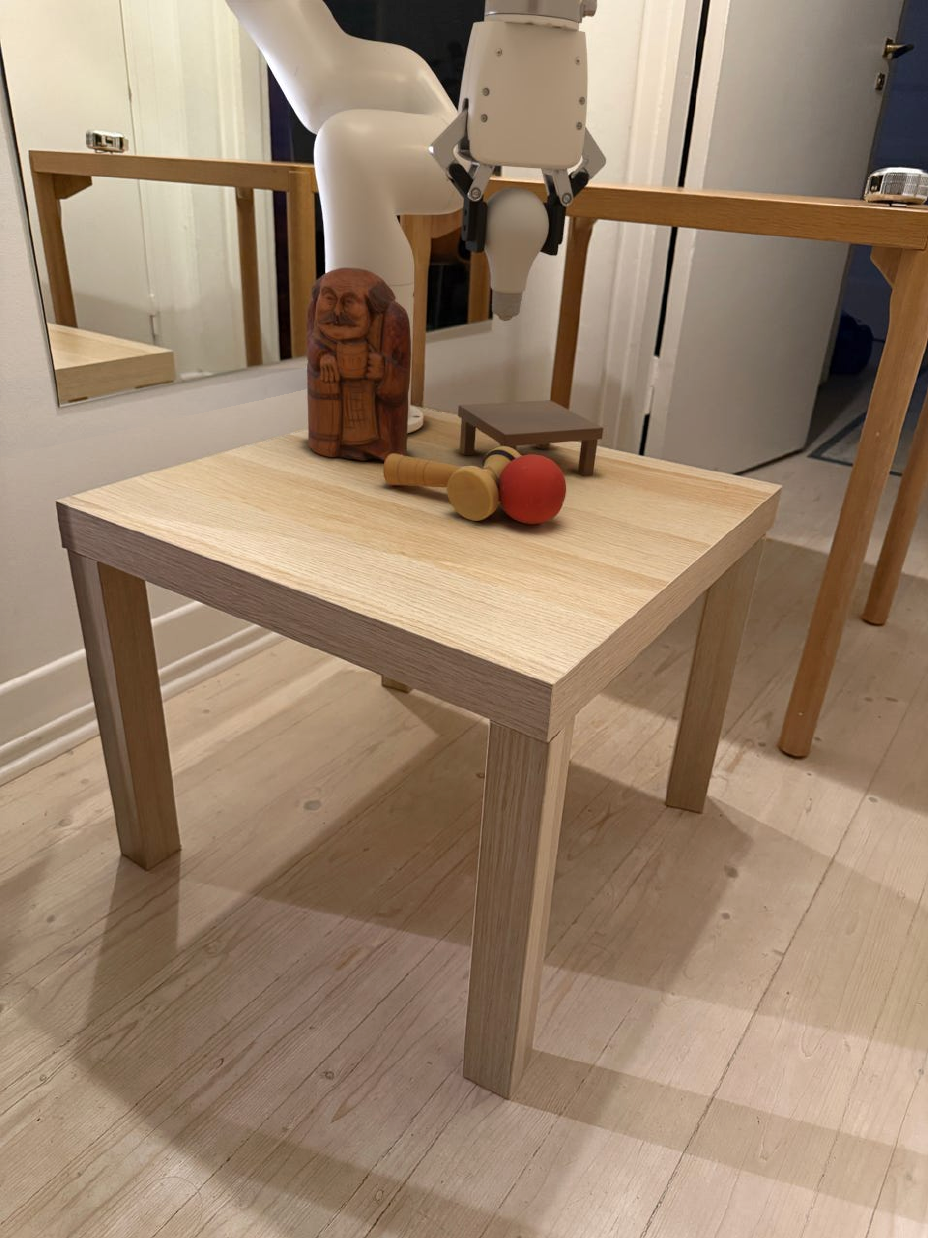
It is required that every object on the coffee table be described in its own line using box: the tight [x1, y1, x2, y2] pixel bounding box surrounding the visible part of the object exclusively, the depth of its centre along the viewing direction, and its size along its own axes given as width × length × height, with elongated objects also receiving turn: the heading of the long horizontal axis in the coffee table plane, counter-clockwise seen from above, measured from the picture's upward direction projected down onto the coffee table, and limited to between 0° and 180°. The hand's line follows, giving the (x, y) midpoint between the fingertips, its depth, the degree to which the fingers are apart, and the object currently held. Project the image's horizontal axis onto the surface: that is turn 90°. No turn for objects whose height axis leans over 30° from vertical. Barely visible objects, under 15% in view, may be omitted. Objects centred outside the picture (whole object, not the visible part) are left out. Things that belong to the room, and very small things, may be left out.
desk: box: [457, 399, 604, 476], centre depth 94 cm, size 11×11×5 cm
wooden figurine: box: [305, 268, 411, 462], centre depth 91 cm, size 12×6×18 cm, turn 75°
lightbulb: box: [484, 186, 549, 322], centre depth 80 cm, size 6×6×11 cm
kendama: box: [382, 446, 567, 525], centre depth 82 cm, size 8×6×18 cm
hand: (511, 249), depth 80 cm, fingers closed on lightbulb, 6 cm apart
